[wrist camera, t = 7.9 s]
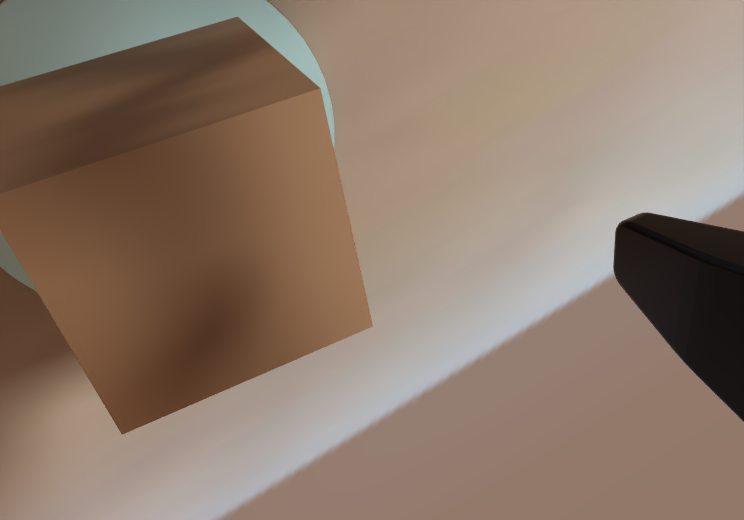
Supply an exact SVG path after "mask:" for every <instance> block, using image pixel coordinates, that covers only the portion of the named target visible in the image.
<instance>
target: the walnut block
mask: <svg viewBox="0 0 744 520" xmlns="http://www.w3.org/2000/svg"><path fill="white" fill-rule="evenodd" d="M0 231H1V232H2V234H3V236H4V237H5V239H6V241H7V243H8V244H9V246H10V248H11V249H12V251H13V253H14V254H15V256H16V258H17V259H18V261H19V263H20V264H21V266H22V268H23V269H24V271H25V273H26V274H27V276H28V278H29V279H30V281H31V283H32V284H33V286H34V288H35V289H36V291H37V293H38V294H39V296H40V298H41V300H42V301H43V303H44V305H45V306H46V308H47V310H48V311H49V313H50V315H51V316H52V318H53V320H54V321H55V323H56V325H57V326H58V328H59V330H60V331H61V333H62V335H63V336H64V338H65V340H66V341H67V343H68V345H69V346H70V348H71V350H72V351H73V353H74V355H75V357H76V358H77V360H78V362H79V363H80V365H81V367H82V368H83V370H84V372H85V373H86V375H87V377H88V378H89V380H90V382H91V383H92V385H93V387H94V388H95V390H96V392H97V393H98V395H99V397H100V398H101V400H102V402H103V403H104V405H105V407H106V408H107V410H108V412H109V414H110V415H111V417H112V419H113V420H114V422H115V424H116V425H117V427H118V429H119V430H120V432H121V434H124V433H127V432H129V431H131V430H134V429H136V428H138V427H141V426H143V425H145V424H148V423H150V422H152V421H154V420H157V419H159V418H161V417H164V416H166V415H168V414H171V413H173V412H175V411H178V410H180V409H182V408H185V407H187V406H189V405H192V404H194V403H196V402H198V401H201V400H203V399H205V398H208V397H210V396H212V395H215V394H217V393H219V392H222V391H224V390H226V389H229V388H231V387H233V386H235V385H238V384H240V383H242V382H245V381H247V380H249V379H252V378H254V377H256V376H259V375H261V374H263V373H266V372H268V371H270V370H273V369H275V368H277V367H279V366H282V365H284V364H286V363H289V362H291V361H293V360H296V359H298V358H300V357H303V356H305V355H307V354H310V353H312V352H314V351H317V350H319V349H321V348H323V347H326V346H328V345H330V344H333V343H335V342H337V341H340V340H342V339H344V338H347V337H349V336H351V335H354V334H356V333H358V332H361V331H363V330H365V329H367V328H370V327H372V326H373V325H372V321H371V316H370V312H369V307H368V303H367V298H366V293H365V289H364V284H363V280H362V275H361V271H360V266H359V261H358V257H357V252H356V248H355V243H354V239H353V234H352V230H351V225H350V220H349V216H348V211H347V207H346V202H345V198H344V193H343V188H342V184H341V179H340V175H339V170H338V166H337V161H336V157H335V152H334V147H333V143H332V138H331V134H330V129H329V125H328V120H327V115H326V111H325V106H324V102H323V97H322V93H321V88H320V87H319V86H318V85H316V84H315V83H314V82H313V81H312V80H311V79H309V78H308V77H307V76H306V75H305V74H304V73H302V72H301V71H300V70H299V69H298V68H297V67H296V66H294V65H293V64H292V63H291V62H290V61H289V60H287V59H286V58H285V57H284V56H283V55H282V54H280V53H279V52H278V51H277V50H276V49H275V48H274V47H272V46H271V45H270V44H269V43H268V42H267V41H265V40H264V39H263V38H262V37H261V36H260V35H258V34H257V33H256V32H255V31H254V30H253V29H252V28H250V27H249V26H248V25H247V24H246V23H245V22H243V21H242V20H241V19H240V18H239V17H234V18H231V19H227V20H224V21H221V22H217V23H214V24H210V25H207V26H204V27H200V28H197V29H193V30H190V31H187V32H183V33H180V34H176V35H173V36H170V37H166V38H163V39H159V40H156V41H153V42H149V43H146V44H142V45H139V46H136V47H132V48H129V49H125V50H122V51H119V52H115V53H112V54H108V55H105V56H102V57H98V58H95V59H91V60H88V61H85V62H81V63H78V64H74V65H71V66H68V67H64V68H61V69H57V70H54V71H51V72H47V73H44V74H40V75H37V76H34V77H30V78H27V79H23V80H20V81H17V82H13V83H10V84H6V85H3V86H0Z"/></svg>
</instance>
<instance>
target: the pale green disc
mask: <svg viewBox="0 0 744 520" xmlns="http://www.w3.org/2000/svg"><path fill="white" fill-rule="evenodd" d="M234 17H239V18H240V19H241V20H242V21H243V22H245V23H246V24H247V25H248V26H249V27H250V28H252V29H253V30H254V31H255V32H256V33H257V34H258V35H260V36H261V37H262V38H263V39H264V40H265V41H267V42H268V43H269V44H270V45H271V46H272V47H274V48H275V49H276V50H277V51H278V52H279V53H280V54H282V55H283V56H284V57H285V58H286V59H287V60H289V61H290V62H291V63H292V64H293V65H294V66H296V67H297V68H298V69H299V70H300V71H301V72H302V73H304V74H305V75H306V76H307V77H308V78H309V79H311V80H312V81H313V82H314V83H315V84H316V85H318V86H319V87H320V88H321V93H322V97H323V102H324V106H325V111H326V115H327V120H328V125H329V129H330V134H331V138H332V143H333V147H334V119H333V112H332V105H331V100H330V96H329V93H328V89H327V86H326V82H325V79H324V77H323V75H322V72H321V70H320V68H319V66H318V63H317V61H316V59H315V57H314V56H313V54H312V52H311V51H310V49H309V47H308V46H307V44H306V43H305V41H304V39H303V38H302V37H301V36H300V34H299V33H298V32H297V31H296V29H295V28H294V27H293V26H292V24H291V23H290V22H289V21H288V20H287V19H286V18H285V17H284V16H283V15H282V14H281V13H280V12H279V11H278V10H277V9H275V8H274V7H273V6H272V5H271V4H270V3H269V2H267V1H266V0H3V1H2V2H1V3H0V86H3V85H6V84H10V83H13V82H17V81H20V80H23V79H27V78H30V77H34V76H37V75H40V74H44V73H47V72H51V71H54V70H57V69H61V68H64V67H68V66H71V65H74V64H78V63H81V62H85V61H88V60H91V59H95V58H98V57H102V56H105V55H108V54H112V53H115V52H119V51H122V50H125V49H129V48H132V47H136V46H139V45H142V44H146V43H149V42H153V41H156V40H159V39H163V38H166V37H170V36H173V35H176V34H180V33H183V32H187V31H190V30H193V29H197V28H200V27H204V26H207V25H210V24H214V23H217V22H221V21H224V20H227V19H231V18H234ZM0 267H1V268H2V269H3V270H5V271H6V272H7V273H8V274H10V275H11V276H12V277H14V278H15V279H16V280H18V281H19V282H21V283H23V284H24V285H26V286H28V287H29V288H31V289H33V290H34V291H36V289H35V288H34V286H33V284H32V283H31V281H30V279H29V278H28V276H27V274H26V273H25V271H24V269H23V268H22V266H21V264H20V263H19V261H18V259H17V258H16V256H15V254H14V253H13V251H12V249H11V248H10V246H9V244H8V243H7V241H6V239H5V237H4V236H3V234H2V232H1V231H0ZM36 292H37V291H36Z"/></svg>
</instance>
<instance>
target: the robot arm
mask: <svg viewBox="0 0 744 520" xmlns="http://www.w3.org/2000/svg"><path fill="white" fill-rule="evenodd" d="M613 267H614V274H615V276H616V279H617V281H618V282H619V284H620V285H621V287H622V288H623V289H624V290H625V292H626V293H627V294H628V295H629V296H630V298H631V299H632V300H633V301H634V302H635V304H636V305H637V306H638V307H639V309H640V310H641V311H642V312H643V313H644V315H645V316H646V317H647V318H648V320H649V321H650V322H651V323H652V324H653V326H654V327H655V328H656V329H657V330H658V332H659V333H660V334H661V335H662V337H663V338H664V339H665V340H666V341H667V343H668V344H669V345H670V346H671V348H672V349H673V350H674V351H675V352H676V353H677V354H678V356H680V358H681V359H682V360H683V361H684V362H685V363H686V365H687V366H689V368H690V369H691V370H692V371H693V372H694V373H695V374H696V375H697V376H698V377H699V378H700V379H701V380H702V381H703V382H704V383H705V384H706V385H707V386H708V387H709V388H710V389H711V390H712V391H713V392H714V393H715V394H716V395H717V396H718V397H719V398H720V399H721V400H722V401H723V402H724V403H725V404H727V406H728V407H729V408H731V410H733V411H734V412H735V413H736V415H738V416H739V417H740V418H741V419H742V420H743V421H744V232H743V231H738V230H733V229H728V228H723V227H717V226H713V225H708V224H703V223H698V222H693V221H688V220H683V219H678V218H673V217H668V216H663V215H658V214H652V213H640V214H638V215H635V216H633V217H631V218H628V219H626V220H624V221H622V222H621V223H619V224H618V226H617V228H616V232H615V248H614V265H613Z"/></svg>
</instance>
